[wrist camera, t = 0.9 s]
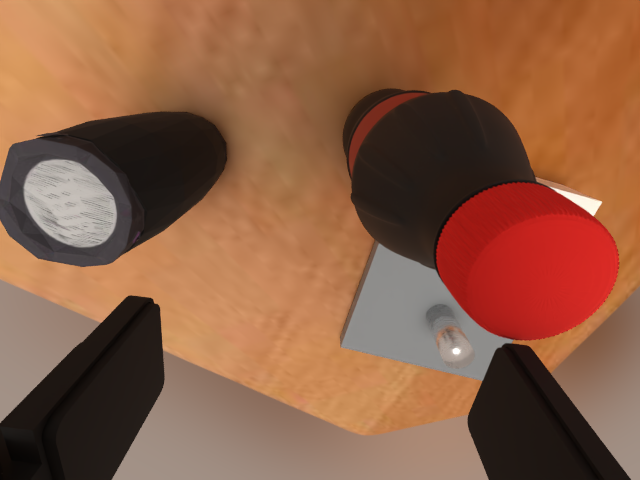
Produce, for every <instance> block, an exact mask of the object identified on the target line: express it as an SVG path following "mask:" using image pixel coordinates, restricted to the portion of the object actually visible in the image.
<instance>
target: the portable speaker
mask: <svg viewBox="0 0 640 480" xmlns="http://www.w3.org/2000/svg"><path fill="white" fill-rule="evenodd" d="M37 136H42V137H39V138H36V139H33V140H28V141H24V142H20V143H15V144H13V145H12V146H11V147H10V148H9V152H8V155H7V159H6V163H5V166H4V170H3V173H2V177H1V181H0V220H1V222H2V224H3V226H4V227H5V229H6V231H7V233H8V234H9V236H10V237H12V238H13V239H14V240H15V241H17V242H18V243H19V244H20V245H22V246H23V247H24V248H25V249H27V250H28V251H29V252H31V253H32V254H33V255H34V256H36V257H37V258H38V259H43V260H48V261H53V262H58V263H64V264H69V265H75V266H80V267H86V266H98V265H107V264H110V263H112V262H114V261H115V260H116V259H117V258H119V257H120V256H121V255H123V254H124V253H126V252H128V251H130V250H131V249H133V248H135V247H136V246H138V245H140V244H142V243H143V242H145V241H147V240H149V239H150V238H152V237H154V236H155V235H157V234H159V233H161V232H162V231H164V230H165V229H166V228H168V227H169V226H170V225H171V224H172V223H174V222H175V221H176V220H177V219H179V218H180V217H181V216H182V215H183V214H185V213H186V212H187V211H188V210H190V209H191V208H192V207H193V206H194V205H196V204H197V203H198V202H199V201H200V200H202V199H203V197H204V196H205V195H206V194H207V193H208V191H209V190H210V189H211V188H212V186H213V185H214V184H215V182H216V181H217V180H218V178H219V177H220V175H221V173H222V172H223V170H224V166H225V163H226V160H227V157H226V142H225V141H224V139H223V138H222V136H221V134H220V133H219V131H218V130H217V128H216V127H215V125H213V124H212V123H210V122H208V121H206V120H205V119H204V118H202V117H199V116H196V115H193V114H190V113H187V112H152V113H142V114H136V115H129V116H122V117H115V118H108V119H101V120H94V121H89V122H85V123H82V124H79V125H76V126H73V127H70V128H67V129H64V130H61V131H58V132H55V133H46V134H42V135H37Z"/></svg>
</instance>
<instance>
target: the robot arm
mask: <svg viewBox="0 0 640 480" xmlns="http://www.w3.org/2000/svg"><path fill="white" fill-rule="evenodd" d="M163 363H164V362H163V348H162V333H161V318H160V307H159V305H158V304H154V301H153V299H152V298H147V297H139V296H128V297H126V298H125V299H124V300H123V301H122V302H121V303H120V304H119V305H118V306H117V307H116V309H115V310H114V311H113V312H112V313H111V314H110V315H109V316H108V317H107V318H106V319H105V320H104V321H103V322H102V323H101V324H100V325H99V326H98V327H97V328H96V329H95V330H94V331H93V332H92V333H91V334H90V335H89V336H88V337H87V338H86V339H85V340H84V341H83V342H82V343H80V344H79V345H77V347H75V348H74V349H73V350H72V351H71V352H70V353H69V354H68V355H67V356H66V357H65V358H64V359H63V360H62V361H61V362H60V363H59V364H58V365H57V366H56V367H55V368H54V369H53V370H52V371H51V372H50V373H49V374H48V375H47V376H46V377H45V378H44V379H43V380H42V381H41V382H40V383H39V384H38V385H37V387H35V388H34V389H33V390H32V391H31V392H30V394H28V395H27V397H26V398H25V399H24V400H23V401H22V402H21V403H20V404H19V405H18V406H17V407H16V408H15V409H14V410H13V411H12V412H11V413H10V414H9V415H8V416H7V417H6V418H5V419H4V420H3V421H2V422H1V423H0V480H112V478H113V476H114V474H115V473H116V471H117V469H118V467H119V466H120V464H121V462H122V460H123V458H124V457H125V455H126V453H127V451H128V450H129V448H130V446H131V444H132V442H133V441H134V439H135V437H136V435H137V434H138V432H139V430H140V428H141V427H142V425H143V423H144V421H145V419H146V417H147V416H148V414H149V412H150V411H151V409H152V407H153V405H154V404H155V402H156V400H157V398H158V396H159V395H160V392H161V391H162V388H163V385H164V364H163ZM468 427H469V431H470V433H471V436H472V438H473V441H474V443H475V446H476V448H477V451H478V453H479V456H480V459H481V461H482V463H483V466H484V469H485V471H486V474H487V476H488V479H489V480H631V479H630V478H629V476H628V475H627V474H626V472H625V471H624V470H623V469H622V467H621V466H620V465H619V463H618V462H617V461H616V459H615V458H614V457H613V455H612V454H611V453H610V452H609V450H608V449H607V447H606V446H605V445H604V443H603V442H602V441H601V440H600V438H599V437H598V436H597V434H596V433H595V432H594V430H593V429H592V428H591V426H590V425H589V424H588V422H587V421H586V420H585V419H584V417H583V416H582V415H581V413H580V412H579V411H578V409H577V408H576V407H575V405H574V404H573V403H572V401H571V400H570V399H569V397H568V396H567V395H566V393H565V392H564V391H563V389H562V388H561V387H560V385H559V384H558V383H557V381H556V380H555V379H554V378H553V376H552V375H551V374H550V372H549V371H548V370H547V368H546V367H545V366H544V364H543V363H542V362H541V360H540V359H539V358H538V356H537V355H536V354H535V352H534V351H533V350H532V349H531V348H530V347H529V346H527V345H519V344H512V343H505V344H503V345H502V347H499V348H497V349H496V351H495V353H494V355H493V357H492V360H491V362H490V365H489V367H488V369H487V372H486V374H485V376H484V379H483V381H482V384H481V386H480V388H479V391H478V393H477V396H476V398H475V400H474V403H473V405H472V408H471V410H470V412H469V415H468Z"/></svg>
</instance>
